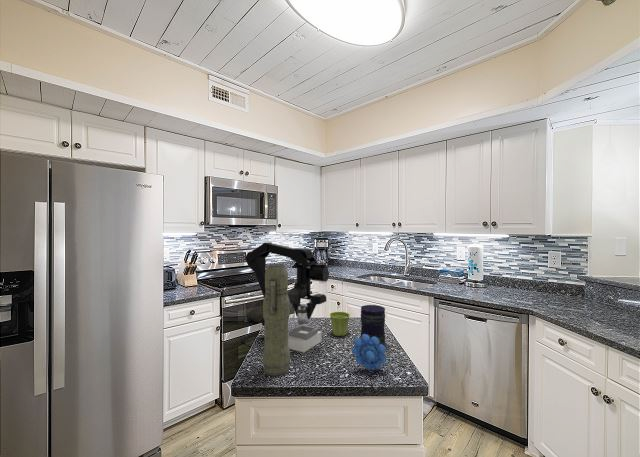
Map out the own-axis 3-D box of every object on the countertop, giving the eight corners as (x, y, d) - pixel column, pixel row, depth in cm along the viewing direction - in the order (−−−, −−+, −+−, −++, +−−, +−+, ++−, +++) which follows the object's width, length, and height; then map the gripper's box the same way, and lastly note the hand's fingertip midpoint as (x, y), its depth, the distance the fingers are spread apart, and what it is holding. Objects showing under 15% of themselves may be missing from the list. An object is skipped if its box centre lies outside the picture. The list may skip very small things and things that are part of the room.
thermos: (290, 360, 102) (290, 262, 102) (288, 378, 90) (288, 267, 90) (265, 361, 101) (266, 262, 102) (260, 378, 90) (260, 267, 90)
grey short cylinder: (293, 323, 115) (293, 306, 116) (301, 319, 120) (301, 302, 120) (305, 325, 113) (305, 307, 113) (312, 321, 117) (312, 304, 117)
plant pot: (353, 332, 130) (353, 313, 130) (344, 339, 122) (344, 319, 122) (335, 328, 135) (335, 310, 135) (325, 335, 127) (325, 315, 127)
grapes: (352, 376, 91) (352, 338, 91) (351, 366, 98) (351, 331, 98) (389, 377, 90) (389, 339, 90) (385, 367, 97) (385, 331, 97)
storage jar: (365, 338, 123) (365, 303, 123) (388, 342, 118) (388, 306, 118) (356, 346, 114) (356, 309, 114) (380, 351, 109) (380, 312, 109)
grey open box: (284, 347, 113) (284, 332, 113) (303, 336, 124) (303, 323, 124) (304, 352, 108) (304, 336, 108) (321, 341, 120) (321, 326, 120)
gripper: (273, 280, 114) (272, 319, 114) (312, 285, 105) (312, 327, 105) (289, 276, 124) (289, 312, 124) (327, 280, 114) (327, 319, 114)
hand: (303, 317), depth 116 cm, fingers closed on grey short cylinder, 5 cm apart
